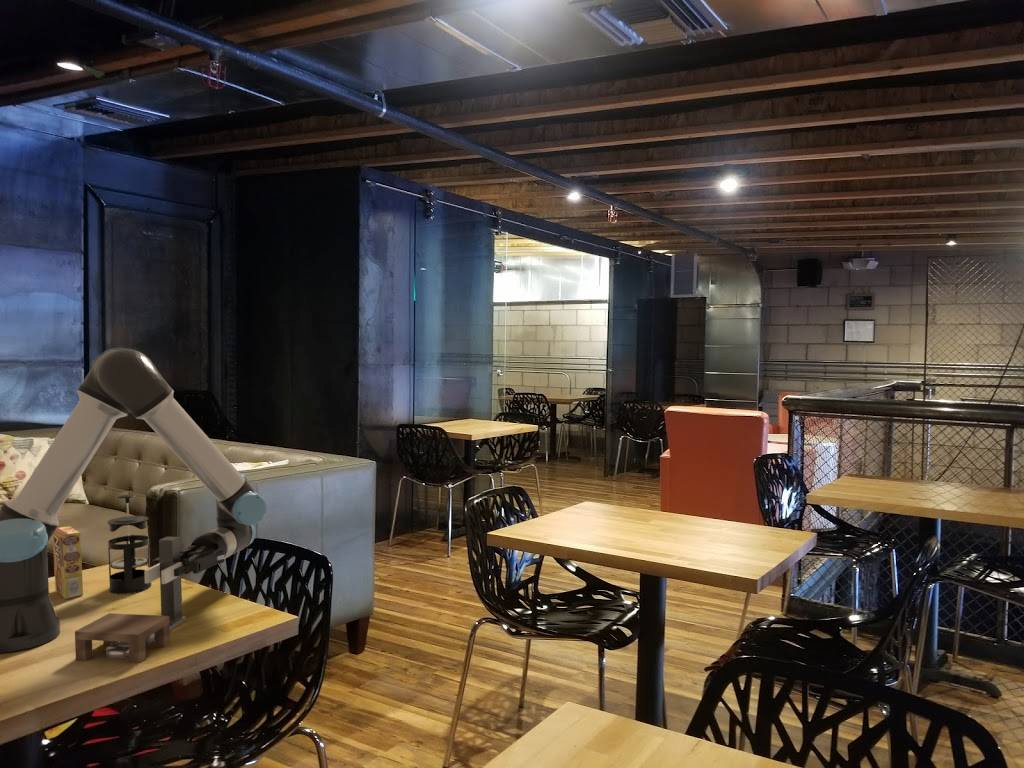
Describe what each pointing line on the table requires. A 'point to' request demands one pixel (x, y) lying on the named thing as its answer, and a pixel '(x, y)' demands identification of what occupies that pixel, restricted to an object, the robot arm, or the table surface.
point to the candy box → (67, 562)
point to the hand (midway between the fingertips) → (154, 577)
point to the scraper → (169, 584)
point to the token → (117, 650)
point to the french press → (128, 554)
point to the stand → (123, 634)
